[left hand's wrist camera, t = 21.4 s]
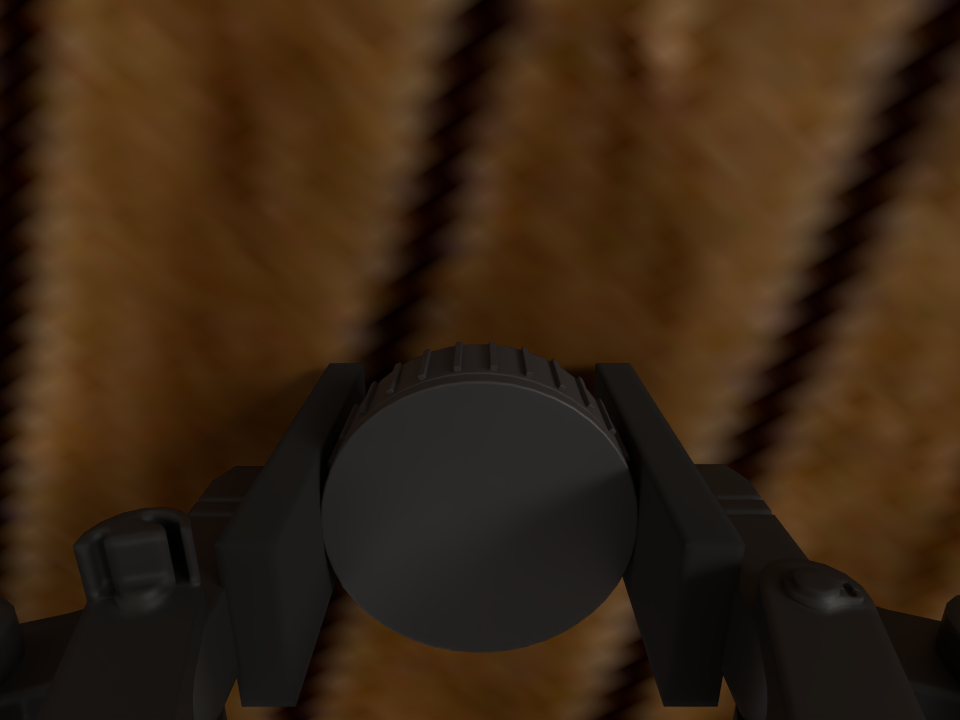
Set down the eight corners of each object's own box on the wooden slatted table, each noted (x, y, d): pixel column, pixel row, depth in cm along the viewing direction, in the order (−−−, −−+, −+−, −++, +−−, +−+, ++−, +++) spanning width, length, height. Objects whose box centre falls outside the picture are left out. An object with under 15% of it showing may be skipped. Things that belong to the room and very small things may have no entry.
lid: (581, 606, 13) (597, 677, 11) (323, 566, 13) (299, 631, 11) (656, 368, 11) (686, 411, 10) (356, 313, 11) (334, 347, 9)
